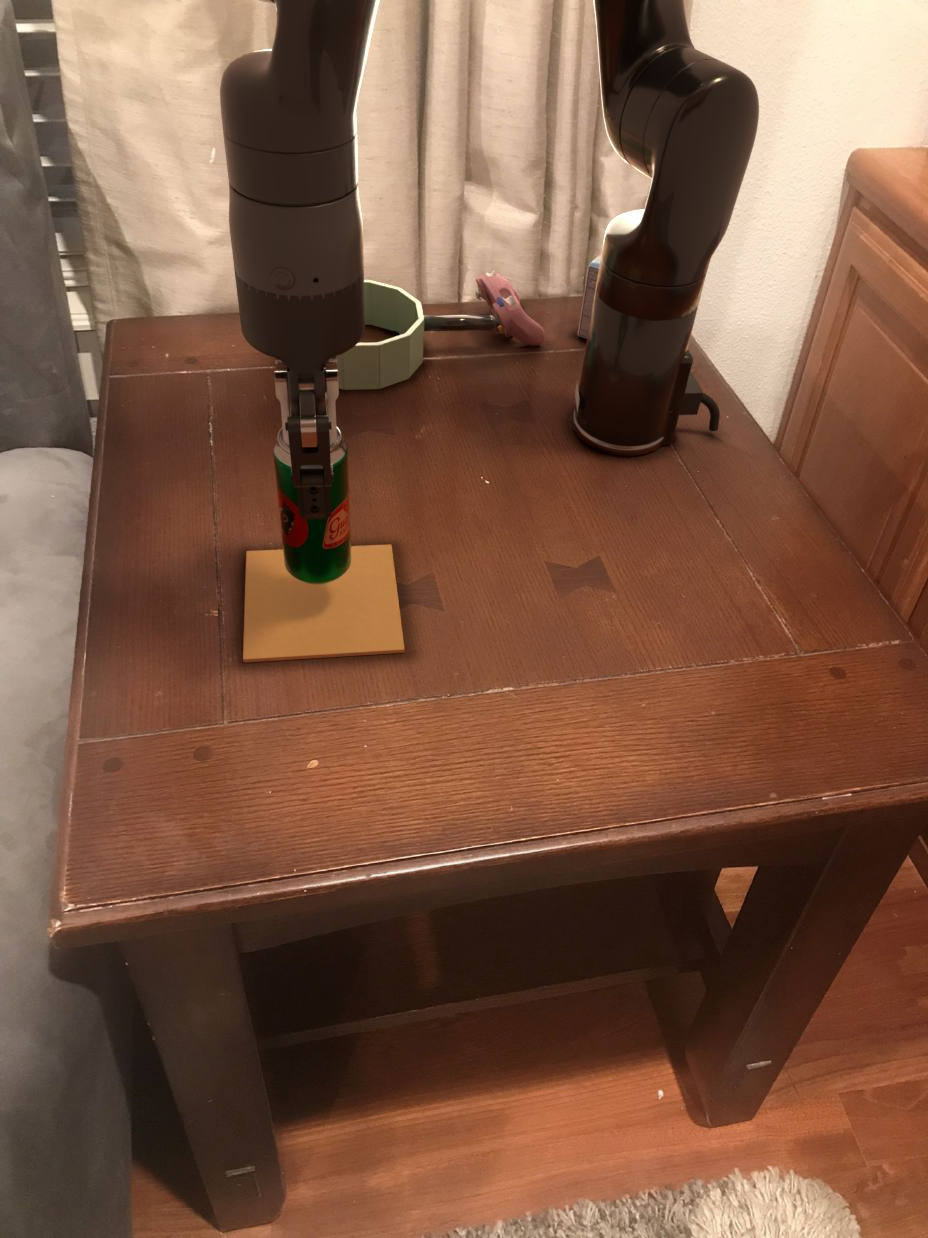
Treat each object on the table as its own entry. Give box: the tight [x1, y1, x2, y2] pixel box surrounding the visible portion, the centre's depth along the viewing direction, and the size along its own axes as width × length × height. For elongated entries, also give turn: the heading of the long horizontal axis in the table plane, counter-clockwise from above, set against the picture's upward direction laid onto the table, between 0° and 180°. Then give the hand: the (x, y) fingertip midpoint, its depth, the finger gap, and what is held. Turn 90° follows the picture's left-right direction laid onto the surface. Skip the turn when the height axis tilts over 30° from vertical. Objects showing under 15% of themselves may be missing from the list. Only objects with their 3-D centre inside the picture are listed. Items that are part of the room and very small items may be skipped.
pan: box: [336, 279, 498, 391], centre depth 100 cm, size 22×14×5 cm, turn 98°
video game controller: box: [474, 269, 546, 347], centre depth 105 cm, size 10×5×7 cm, turn 17°
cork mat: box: [242, 543, 405, 664], centre depth 75 cm, size 12×12×1 cm
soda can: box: [272, 425, 352, 584], centre depth 69 cm, size 5×5×12 cm
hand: (314, 489), depth 68 cm, fingers closed on soda can, 5 cm apart
